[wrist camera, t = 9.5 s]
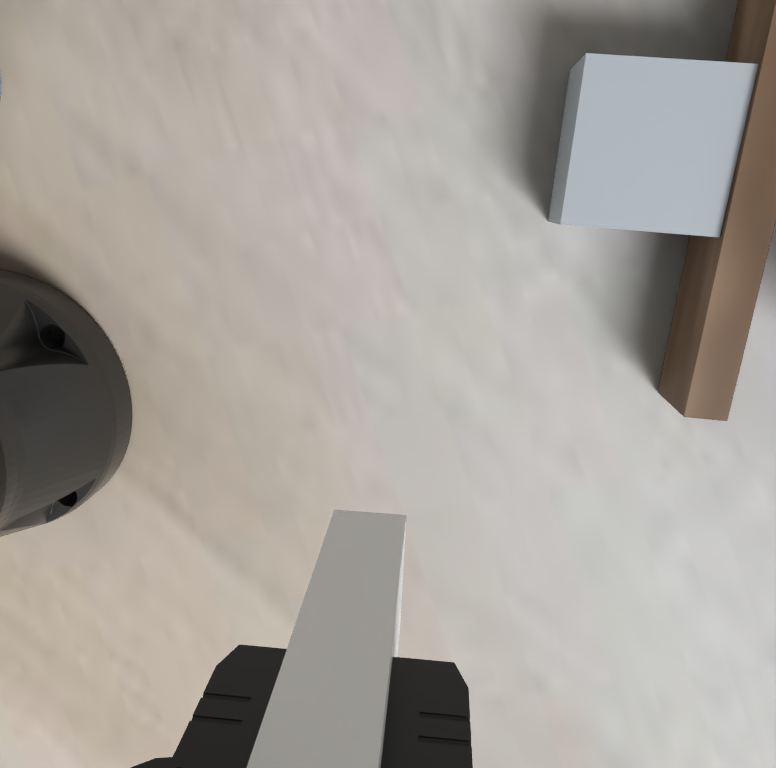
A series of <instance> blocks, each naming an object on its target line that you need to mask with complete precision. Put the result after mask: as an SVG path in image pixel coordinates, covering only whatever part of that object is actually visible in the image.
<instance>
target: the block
mask: <svg viewBox="0 0 776 768" xmlns="http://www.w3.org/2000/svg"><path fill="white" fill-rule="evenodd" d="M757 69H758V64H753V63H737V62H721V61H705V60H689V59H673V58H657V57H641V56H625V55H609V54H593V53H586V54H585V55H584V56H583V57H582V58H581V59H580V60H579V61H578V62H577V63H576V64H575V65H574V66H573V67H572V69H571V70H570V73H569V80H568V87H567V94H566V101H565V108H564V114H563V121H562V128H561V135H560V142H559V149H558V156H557V163H556V170H555V176H554V183H553V190H552V197H551V204H550V211H549V218H548V221H549V222H553V223H556V224H560V225H573V226H585V227H597V228H610V229H622V230H634V231H647V232H659V233H671V234H684V235H696V236H708V237H720V234H721V229H722V225H723V220H724V216H725V211H726V207H727V202H728V198H729V194H730V189H731V185H732V180H733V176H734V171H735V167H736V162H737V158H738V153H739V149H740V145H741V140H742V136H743V131H744V127H745V122H746V118H747V113H748V109H749V104H750V100H751V96H752V91H753V87H754V82H755V78H756V73H757Z"/></svg>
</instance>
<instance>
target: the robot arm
mask: <svg viewBox="0 0 776 768" xmlns="http://www.w3.org/2000/svg"><path fill="white" fill-rule="evenodd" d="M1 94H2V78H1V72H0V100H1ZM131 428H132V403H131V396H130V390H129V386H128V382H127V379H126V375H125V372H124V370H123V367H122V365H121V362H120V360H119V358H118V356H117V354H116V352H115V350H114V348H113V347H112V345H111V343H110V342H109V340H108V339H107V337H106V336H105V334H104V333H103V332H102V330H101V329H100V328H99V327H98V325H97V324H96V323H95V322H94V321H93V320H92V318H91V317H90V316H89V315H88V314H87V313H86V312H85V311H84V310H82V309H81V308H80V307H79V306H78V305H77V304H76V303H74V302H73V301H72V300H71V299H69V298H68V297H66V296H65V295H64V294H62V293H61V292H59V291H57V290H56V289H54V288H52V287H51V286H49V285H47V284H45V283H43V282H40V281H38V280H36V279H34V278H31V277H28V276H25V275H22V274H18V273H15V272H10V271H5V270H0V537H1V536H4V535H8V534H11V533H14V532H18V531H21V530H25V529H28V528H32V527H35V526H38V525H42V524H45V523H49V522H51V521H54V520H56V519H58V518H60V517H62V516H64V515H66V514H68V513H70V512H71V511H73V510H75V509H76V508H78V507H79V506H80V505H82V504H83V503H84V502H85V501H86V500H88V499H89V498H90V497H91V496H93V495H94V494H95V493H96V492H97V491H99V490H100V489H101V488H102V487H103V486H104V485H105V484H106V483H107V482H108V481H109V480H110V479H111V477H112V476H113V475H114V473H115V472H116V470H117V469H118V467H119V466H120V464H121V462H122V460H123V458H124V455H125V453H126V450H127V447H128V444H129V439H130V435H131ZM405 531H406V515H395V514H382V513H370V512H357V511H344V510H334V513H333V516H332V518H331V521H330V524H329V527H328V530H327V533H326V536H325V539H324V542H323V545H322V548H321V551H320V554H319V557H318V560H317V562H316V565H315V568H314V571H313V574H312V577H311V580H310V583H309V586H308V589H307V592H306V595H305V598H304V601H303V603H302V606H301V609H300V612H299V615H298V618H297V621H296V624H295V627H294V630H293V633H292V636H291V639H290V642H289V645H288V647H287V649H281V648H270V647H259V646H248V645H238V646H237V647H236V648H235V649H234V650H233V651H232V652H231V653H230V654H229V655H228V656H227V657H225V658H224V659H223V660H222V661H221V662H220V663H219V664H218V665H217V666H216V668H215V670H214V672H213V674H212V676H211V678H210V680H209V682H208V684H207V686H206V689H205V691H204V694H203V698H201V699H200V701H199V703H198V705H197V707H196V709H195V712H194V714H193V718H192V721H190V722H189V724H188V726H187V728H186V730H185V732H184V735H183V737H182V739H181V741H180V743H179V745H178V747H177V749H176V751H175V753H174V755H173V757H168V758H155V759H152V760H150V761H147V762H144V763H142V764H139V765H136V766H134V767H131V768H473V767H472V748H471V729H470V710H469V691H468V686H467V685H466V683H465V681H464V679H463V678H462V676H461V674H460V672H459V670H458V669H457V667H456V665H455V663H454V662H443V661H432V660H422V659H411V658H400V657H397V653H398V643H399V633H400V619H401V602H402V584H403V566H404V548H405Z"/></svg>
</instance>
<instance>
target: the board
mask: <svg viewBox="0 0 776 768" xmlns="http://www.w3.org/2000/svg"><path fill="white" fill-rule="evenodd" d="M726 62H737V63H753V64H758V69H757V73H756V78H755V82H754V87H753V91H752V96H751V100H750V104H749V109H748V113H747V118H746V122H745V127H744V131H743V136H742V140H741V145H740V149H739V153H738V158H737V162H736V167H735V171H734V176H733V180H732V185H731V189H730V194H729V198H728V202H727V207H726V211H725V216H724V220H723V225H722V229H721V234H720V237H708V236H696V235H690V238H689V242H688V247H687V252H686V257H685V262H684V267H683V272H682V276H681V281H680V286H679V291H678V296H677V301H676V306H675V310H674V315H673V320H672V325H671V330H670V335H669V340H668V344H667V349H666V354H665V359H664V364H663V369H662V374H661V378H660V383H659V388H658V393H659V394H660V395H661V396H662V397H663V398H664V399H666V400H667V401H668V402H669V403H670V404H671V405H672V406H673V407H674V408H675V409H676V410H677V411H678V412H679V413H680V414H682V415H683V416H684V417H691V418H701V419H712V420H722V421H727V419H728V415H729V411H730V407H731V403H732V399H733V395H734V391H735V386H736V382H737V378H738V374H739V370H740V366H741V362H742V358H743V354H744V349H745V345H746V341H747V337H748V333H749V329H750V325H751V321H752V316H753V312H754V308H755V304H756V300H757V296H758V292H759V288H760V284H761V279H762V275H763V271H764V267H765V263H766V259H767V255H768V251H769V247H770V242H771V238H772V234H773V230H774V226H775V222H776V0H738V4H737V9H736V14H735V19H734V24H733V29H732V33H731V38H730V43H729V48H728V53H727V58H726Z"/></svg>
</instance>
